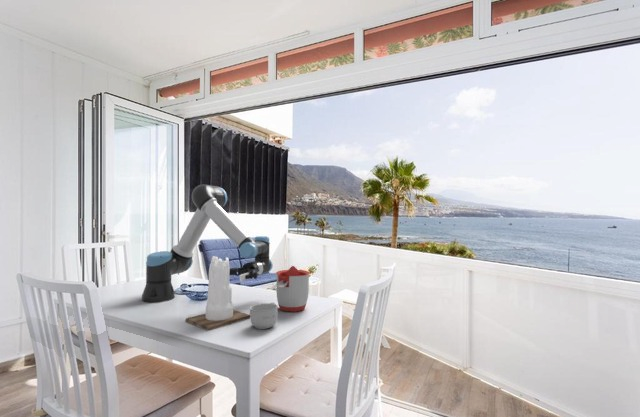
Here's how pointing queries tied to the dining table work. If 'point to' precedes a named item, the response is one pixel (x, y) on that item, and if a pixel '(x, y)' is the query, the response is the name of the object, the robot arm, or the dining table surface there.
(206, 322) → the board
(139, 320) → the dining table surface
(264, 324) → the teacup
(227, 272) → the decorative vase
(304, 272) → the citrus juicer
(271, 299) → the dining table surface
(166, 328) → the dining table surface
